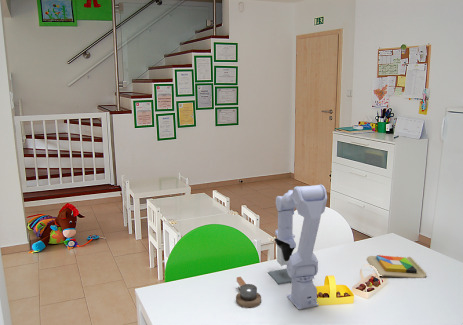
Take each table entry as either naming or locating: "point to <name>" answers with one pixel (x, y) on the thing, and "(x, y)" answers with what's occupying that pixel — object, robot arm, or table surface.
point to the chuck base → (248, 303)
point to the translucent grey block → (280, 256)
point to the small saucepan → (247, 290)
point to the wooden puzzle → (396, 266)
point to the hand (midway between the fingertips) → (284, 258)
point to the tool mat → (280, 276)
